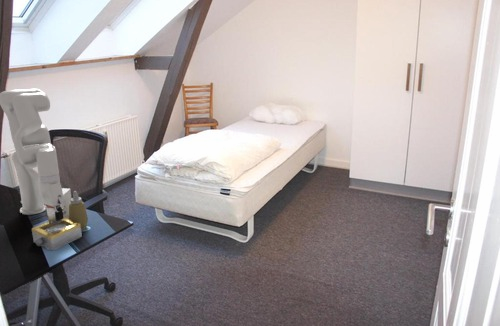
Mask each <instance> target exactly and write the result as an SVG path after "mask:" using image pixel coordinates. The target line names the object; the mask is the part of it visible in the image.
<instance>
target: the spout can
mask: <svg viewBox="0 0 500 326" xmlns="http://www.w3.org/2000/svg"><path fill="white" fill-rule="evenodd" d="M57 204H59V203H57ZM58 207H59V206H57V208H58ZM46 209H47V214H46V217H47V216H48V217H47V222H49V224H58V223H60V222H62V221H63V220H62V219H61V220H59V221H56V218H55V212H56V211H55V208H54V207H52V206H49V205H46ZM63 214H66V211H65V210H64V211H63Z"/></svg>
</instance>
